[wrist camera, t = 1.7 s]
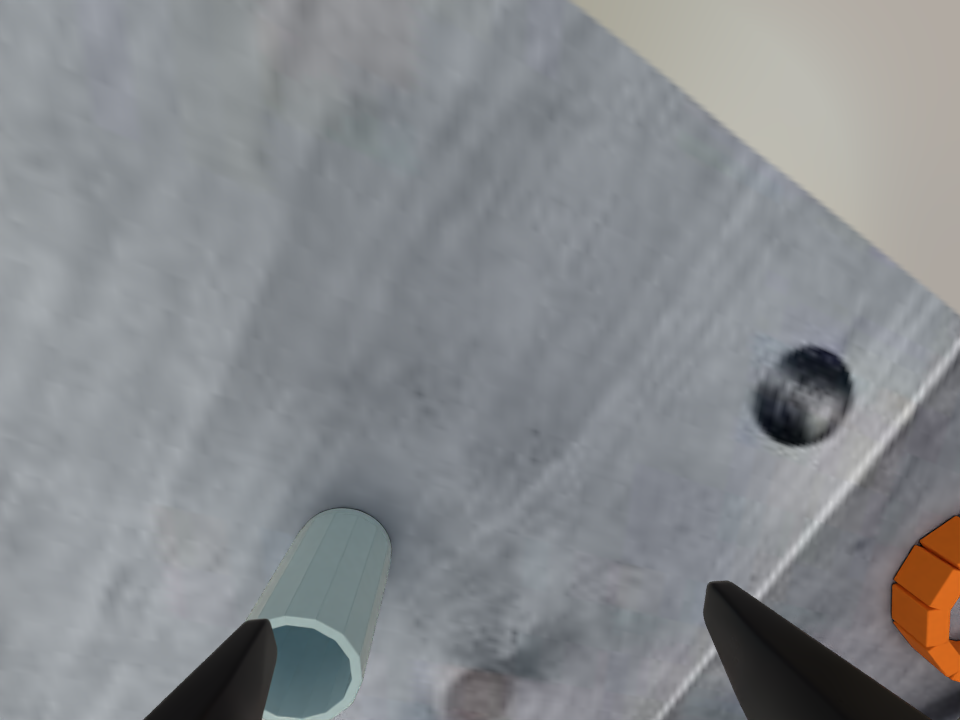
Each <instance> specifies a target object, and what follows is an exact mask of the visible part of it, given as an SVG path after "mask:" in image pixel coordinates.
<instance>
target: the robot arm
mask: <svg viewBox="0 0 960 720" xmlns="http://www.w3.org/2000/svg"><path fill="white" fill-rule="evenodd" d="M703 615H704V620H705V624H706V626H707V629H708V631H709V633H710V636H711V638H712V640H713V643H714V645H715V647H716V650H717V652H718V654H719V657H720V659H721V661H722V664H723V666H724V669H725V671H726V673H727V676H728V678H729V680H730V683H731V685H732V687H733V690H734V692H735V694H736V696H737V699H738V701H739V703H740V705H741V707H742V709H743V711H744V713H745V715H746V717H747V719H748V720H932V719H930V718H929V717H927V716H926V715H924V714H923V713H921V712H920V711H919V710H917V709H916V708H914V707H913V706H911V705H910V704H908V703H907V702H905V701H904V700H903V699H901V698H900V697H898V696H897V695H895V694H894V693H892V692H891V691H889V690H888V689H887V688H885V687H884V686H882V685H881V684H879V683H878V682H876V681H875V680H873V679H872V678H871V677H869V676H868V675H866V674H865V673H863V672H862V671H860V670H859V669H857V668H856V667H854V666H853V665H852V664H850V663H849V662H847V661H846V660H844V659H843V658H841V657H840V656H838V655H837V654H836V653H834V652H833V651H831V650H830V649H828V648H827V647H825V646H824V645H822V644H821V643H820V642H818V641H817V640H815V639H814V638H812V637H811V636H809V635H808V634H806V633H805V632H803V631H802V630H801V629H799V628H798V627H796V626H795V625H793V624H792V623H790V622H789V621H787V620H786V619H785V618H783V617H782V616H780V615H779V614H777V613H776V612H774V611H773V610H771V609H770V608H769V607H767V606H766V605H764V604H763V603H761V602H760V601H758V600H757V599H755V598H754V597H753V596H751V595H750V594H748V593H747V592H745V591H744V590H742V589H741V588H739V587H738V586H736V585H735V584H734V583H732V582H730V581H713V582H709V584H708V585H707V589H706V596H705V603H704V609H703ZM276 661H277V645H276V641H275V637H274V633H273V629H272V626H271V623H270V621H269V620H268V619H266V618H264V619H252V620H248V621H246V622H244V623H243V624H242V625H241V626H240V627H239V628H238V629H237V630H236V631H235V632H234V633H233V634H232V635H231V636H230V637H229V638H228V639H227V640H225V641H224V642H223V643H222V644H221V645H220V646H219V647H218V648H217V649H216V650H215V651H214V652H213V653H212V654H211V655H210V656H209V657H208V658H207V659H206V660H205V661H204V662H203V663H202V664H201V665H200V666H198V667H197V668H196V669H195V670H194V671H193V672H192V673H191V674H190V675H189V676H188V677H187V678H186V679H185V680H184V681H183V682H182V683H181V684H180V685H179V686H178V687H177V688H176V689H175V690H174V691H173V692H171V693H170V694H169V695H168V696H167V697H166V698H165V699H164V700H163V701H162V702H161V703H160V704H159V705H158V706H157V707H156V708H155V709H154V710H153V711H152V712H151V713H150V714H149V715H148V716H147V717H145V718H144V719H143V720H262V717H263V713H264V709H265V705H266V701H267V697H268V693H269V689H270V685H271V681H272V677H273V673H274V669H275V665H276Z"/></svg>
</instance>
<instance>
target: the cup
mask: <svg viewBox="0 0 960 720" xmlns="http://www.w3.org/2000/svg"><path fill="white" fill-rule="evenodd" d="M391 554H392V550H391V543H390V539H389V536H388V534H387V533H386V531H385V529H384V528H383V527H382V525H381V524H380V523H379V522H378V521H377V520H375V519H374V518H373V517H371V516H370V515H368V514H366V513H364V512H361V511H358V510H354V509H348V508H337V509H331V510H327V511H324V512H322V513H319V514H318V515H316V516H314V517H313V518H311V519H310V520H309V521H308V522H307V523H306V524H305V525H304V527H303V528H302V530H301V531H299V533H298V535H297V536H296V538H295V540H294V541H293V543H292V545H291V546H290V548H289V549H288V551H287V553H286V554H285V556H284V558H283V559H282V561H281V563H280V564H279V566H278V568H277V569H276V571H275V573H274V574H273V576H272V578H271V579H270V581H269V583H268V584H267V586H266V588H265V589H264V591H263V593H262V594H261V596H260V598H259V599H258V601H257V603H256V604H255V606H254V608H253V609H252V611H251V613H250V614H249V616H248V618H247V619H246V621H248V620H252V619H264V618H266V619H268V620H269V621H270V623H271V626H272V629H273V633H274V637H275V641H276V645H277V661H276V665H275V669H274V673H273V677H272V681H271V685H270V689H269V693H268V697H267V701H266V705H265V709H264V713H263V717H262V719H264V720H331V719H333V718H334V717H336V716H337V715H338V714H340V713H341V712H342V711H343V710H345V709H346V708H347V707H349V706H350V705H351V704H352V703H353V702H354V699H355V697H356V695H357V693H358V691H359V688H360V686H361V684H362V682H363V678H364V674H365V669H366V665H367V661H368V657H369V653H370V648H371V644H372V640H373V636H374V632H375V627H376V623H377V619H378V615H379V611H380V606H381V602H382V598H383V594H384V590H385V585H386V581H387V577H388V573H389V569H390V564H391ZM246 621H245V622H246Z"/></svg>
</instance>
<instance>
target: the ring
mask: <svg viewBox="0 0 960 720" xmlns="http://www.w3.org/2000/svg"><path fill="white" fill-rule="evenodd" d="M920 543H921V544H922V546H923V547H921V546H917V545H915V546H914V547H913V549H912V550H911V552H910V554H909V555H908V557H907V558H906V560H905V562H904V563H903V565H902V567H901V568H900V570H899V572H898V573H897V575H896V576H895V578H894V580H895V581H896V582H897V583H896V584H893V585H892V619H893V620H895V621H894V622H893V623H894V624H895V626H896V627H897V628H898V630H899V631H900V632H901V633H902V635H903V636H904V637H905V639H906V640H907V641H908V642H909V644H910V645H911V646H912V647H913V648H914V649H915V650H916V651H917V652H919V653H920V654H921V655H922V656H923V657H924V658H925V659H927V660H928V661H929V662H930V663H931V664H932V665H934V666H935V667H936V668H937V669H938V670H939V671H940V672H942V673H943V674H944V675H945V676H947V677H949V678H950V679H951V680H954V681H958V682H960V641H953V640H950V639H949V628H950V610H951V609H952V607H953V606H954V604H955V603H956V601H957V600H958V598H959V597H960V517H958V516H955V517H953V518H952V519H950V520H949V521H947V522H946V523H944V524H943V525H942V526H940V527H939V528H937V529H936V530H934V531H933V532H931V533H930V534H928V535H927V536H926V537H924V538H923V539H921V540H920Z"/></svg>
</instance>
